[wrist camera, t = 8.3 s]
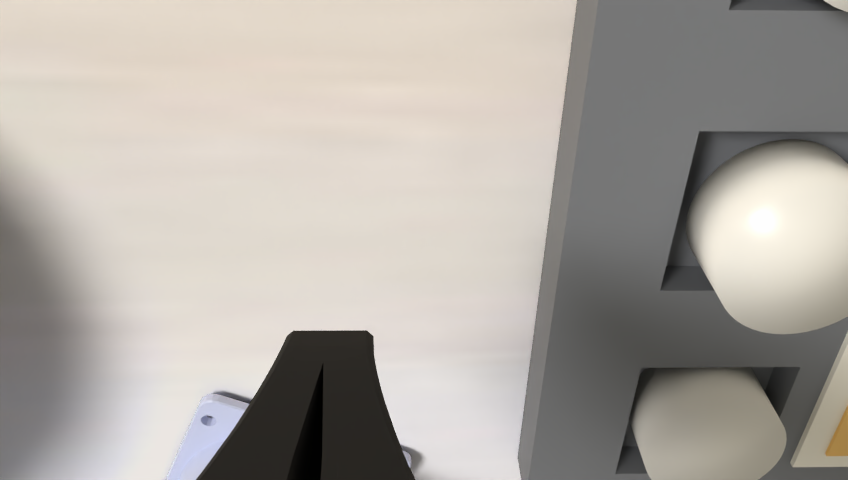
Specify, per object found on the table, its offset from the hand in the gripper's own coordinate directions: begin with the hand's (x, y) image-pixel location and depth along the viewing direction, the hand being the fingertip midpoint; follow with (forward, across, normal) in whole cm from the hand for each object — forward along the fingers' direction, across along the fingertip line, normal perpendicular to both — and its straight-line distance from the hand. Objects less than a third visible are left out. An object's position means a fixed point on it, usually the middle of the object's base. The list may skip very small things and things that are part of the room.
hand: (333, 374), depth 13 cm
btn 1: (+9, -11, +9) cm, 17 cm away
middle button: (+8, -11, +1) cm, 13 cm away
